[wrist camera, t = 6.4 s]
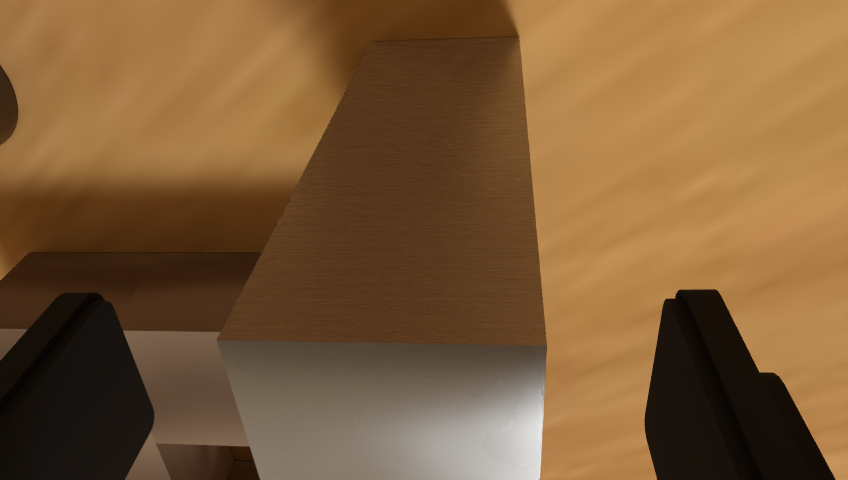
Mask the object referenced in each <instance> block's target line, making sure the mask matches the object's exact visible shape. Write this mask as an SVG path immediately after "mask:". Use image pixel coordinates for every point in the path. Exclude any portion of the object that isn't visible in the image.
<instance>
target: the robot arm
mask: <svg viewBox="0 0 848 480" xmlns="http://www.w3.org/2000/svg"><path fill="white" fill-rule="evenodd" d="M153 424H154V409H153V406H152V404H151V401H150V398H149V396H148V393H147V391H146V388H145V386H144V383H143V381H142V378H141V375H140V373H139V370H138V368H137V365H136V363H135V360H134V358H133V355H132V352H131V350H130V347H129V345H128V342H127V340H126V337H125V335H124V332H123V329H122V327H121V324H120V322H119V319H118V317H117V314H116V312H115V309H114V307H113V305H112V304H111V303H110V302H109V301H105V300H104V298H103V297H102V296H101V295H100V294H99V293H95V292H74V293H62V294H60V295H59V296H58V297H56V299H55V300H54V301H53V302H52V303H51V304H50V305H49V306H48V308H47V309H46V310H45V311H44V312H43V313H42V314H41V315H40V317H39V318H38V319H37V320H36V321H35V322H34V323H33V324H32V325H31V327H30V328H29V329H28V330H27V331H26V332H25V333H24V334H23V336H22V337H21V338H20V339H19V340H18V341H17V342H16V343H15V345H14V346H13V347H12V348H11V349H10V350H9V351H8V352H7V354H6V355H5V356H4V357H3V358H2V359H1V360H0V480H125V478H126V477H127V475H128V473H129V471H130V469H131V467H132V466H133V464H134V462H135V460H136V458H137V456H138V454H139V453H140V451H141V449H142V447H143V445H144V443H145V441H146V440H147V438H148V436H149V434H150V432H151V430H152V428H153ZM645 433H646V438H647V442H648V446H649V450H650V454H651V457H652V461H653V465H654V469H655V472H656V476H657V480H835V478H834V476H833V474H832V472H831V470H830V469H829V467H828V465H827V463H826V461H825V459H824V457H823V455H822V454H821V452H820V450H819V448H818V446H817V444H816V442H815V441H814V439H813V437H812V435H811V433H810V431H809V429H808V427H807V426H806V424H805V422H804V420H803V418H802V416H801V414H800V413H799V411H798V409H797V407H796V405H795V403H794V401H793V399H792V398H791V396H790V394H789V392H788V390H787V388H786V386H785V384H784V383H783V382H782V380H781V379H780V377H779V376H777V375H776V374H775V373H759V371H758V369H757V367H756V365H755V363H754V361H753V359H752V357H751V355H750V353H749V351H748V349H747V347H746V345H745V343H744V341H743V339H742V337H741V335H740V333H739V331H738V329H737V327H736V325H735V323H734V321H733V319H732V317H731V315H730V313H729V311H728V309H727V307H726V305H725V303H724V301H723V299H722V297H721V295H720V293H719V292H718V291H717V290H715V289H714V290H679V291H678V292H677V294H676V297H675V299H665V301H664V304H663V309H662V315H661V322H660V328H659V334H658V340H657V346H656V352H655V358H654V364H653V370H652V376H651V382H650V388H649V394H648V400H647V406H646V412H645Z"/></svg>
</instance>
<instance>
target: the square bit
mask: <svg viewBox="0 0 848 480" xmlns="http://www.w3.org/2000/svg"><path fill="white" fill-rule="evenodd" d="M217 344H218V347H219V350H220V353H221V356H222V360H223V363H224V366H225V369H226V372H227V375H228V379H229V382H230V385H231V388H232V391H233V395H234V398H235V401H236V404H237V407H238V411H239V414H240V417H241V420H242V423H243V427H244V430H245V433H246V436H247V439H248V443H249V446H250V449H251V452H252V455H253V458H254V462H255V465H256V468H257V471H258V474H259V478H260V480H540V465H541V447H542V428H543V409H544V390H545V371H546V352H547V342H546V331H545V319H544V308H543V297H542V286H541V275H540V264H539V252H538V241H537V230H536V219H535V208H534V196H533V185H532V174H531V163H530V152H529V141H528V129H527V118H526V107H525V96H524V85H523V73H522V62H521V51H520V40H519V37H495V38H467V39H438V40H409V41H381V42H371V43H370V45H369V47H368V49H367V51H366V53H365V55H364V57H363V59H362V61H361V62H360V64H359V66H358V68H357V70H356V72H355V74H354V76H353V78H352V80H351V82H350V84H349V86H348V88H347V89H346V91H345V93H344V95H343V97H342V99H341V101H340V103H339V105H338V107H337V109H336V111H335V113H334V115H333V116H332V118H331V120H330V122H329V124H328V126H327V128H326V130H325V132H324V134H323V136H322V138H321V140H320V142H319V143H318V145H317V147H316V149H315V151H314V153H313V155H312V157H311V159H310V161H309V163H308V165H307V167H306V169H305V170H304V172H303V174H302V176H301V178H300V180H299V182H298V184H297V186H296V188H295V190H294V192H293V194H292V196H291V197H290V199H289V201H288V203H287V205H286V207H285V209H284V211H283V213H282V215H281V217H280V219H279V221H278V223H277V224H276V226H275V228H274V230H273V232H272V234H271V236H270V238H269V240H268V242H267V244H266V246H265V248H264V250H263V251H262V253H261V255H260V257H259V259H258V261H257V263H256V265H255V267H254V269H253V271H252V273H251V275H250V277H249V279H248V280H247V282H246V284H245V286H244V288H243V290H242V292H241V294H240V296H239V298H238V300H237V302H236V304H235V306H234V307H233V309H232V311H231V313H230V315H229V317H228V319H227V321H226V323H225V325H224V327H223V329H222V331H221V333H220V334H219V336H218V338H217Z"/></svg>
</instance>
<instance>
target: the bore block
mask: <svg viewBox="0 0 848 480" xmlns="http://www.w3.org/2000/svg"><path fill="white" fill-rule="evenodd" d="M260 255H261V253H28V254H27V255H26V256H25V257H24V258H23V259H22V260H21V261H20V262H19V263H18V264H17V265H16V266H15V267H14V268H13V269H12V270H11V271H10V272H9V273H8V274H7V275H6V276H5V277H4V278H3V279H2V280H1V281H0V360H1V359H2V358H3V357H4V356H5V355H6V354H7V352H8V351H9V350H10V349H11V348H12V347H13V346H14V345H15V343H16V342H17V341H18V340H19V339H20V338H21V337H22V336H23V334H24V333H25V332H26V331H27V330H28V329H29V328H30V327H31V325H32V324H33V323H34V322H35V321H36V320H37V319H38V318H39V317H40V315H41V314H42V313H43V312H44V311H45V310H46V309H47V308H48V306H49V305H50V304H51V303H52V302H53V301H54V300H55V299H56V297H58V296H59V295H60V294H62V293H74V292H95V293H99V294H100V295H101V296H102V297H103V298H104V300H105V301H109V302H110V303H111V304H112V305H113V307H114V309H115V312H116V314H117V317H118V319H119V322H120V324H121V327H122V329H123V332H124V335H125V337H126V340H127V342H128V345H129V347H130V350H131V352H132V355H133V358H134V360H135V363H136V365H137V368H138V370H139V373H140V375H141V378H142V381H143V383H144V386H145V388H146V391H147V393H148V396H149V398H150V401H151V404H152V406H153V409H154V424H153V428H152V430H151V432H150V434H149V436H148V438H147V440H146V441H145V443H144V445H143V447H142V449H141V451H140V453H139V454H138V456H137V458H136V460H135V462H134V464H133V466H132V467H131V469H130V471H129V473H128V475H127V477H126V478H125V480H260V478H259V474H258V471H257V468H256V465H255V462H254V461H234V459H233V456H232V453H231V450H230V447H229V446H247V447H250V446H249V443H248V439H247V436H246V433H245V430H244V427H243V423H242V420H241V417H240V414H239V411H238V407H237V404H236V401H235V398H234V395H233V391H232V388H231V385H230V382H229V379H228V375H227V372H226V369H225V366H224V363H223V360H222V356H221V353H220V350H219V347H218V344H217V338H218V336H219V334H220V333H221V331H222V329H223V327H224V325H225V323H226V321H227V319H228V317H229V315H230V313H231V311H232V309H233V307H234V306H235V304H236V302H237V300H238V298H239V296H240V294H241V292H242V290H243V288H244V286H245V284H246V282H247V280H248V279H249V277H250V275H251V273H252V271H253V269H254V267H255V265H256V263H257V261H258V259H259V257H260Z"/></svg>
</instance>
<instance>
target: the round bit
mask: <svg viewBox="0 0 848 480" xmlns="http://www.w3.org/2000/svg"><path fill="white" fill-rule="evenodd" d="M17 120H18V107H17V101H16V97H15V94H14V91H13V88H12V86H11V84H10V82H9V80H8V78H7V77H6V75H5V73H4V72H3V70H2V69H1V68H0V145H1V144H3V143H4V142H6V141H7V140H8V139H9V138H10V137H11V135H12V134H13V132H14V130H15V128H16V124H17Z"/></svg>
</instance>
